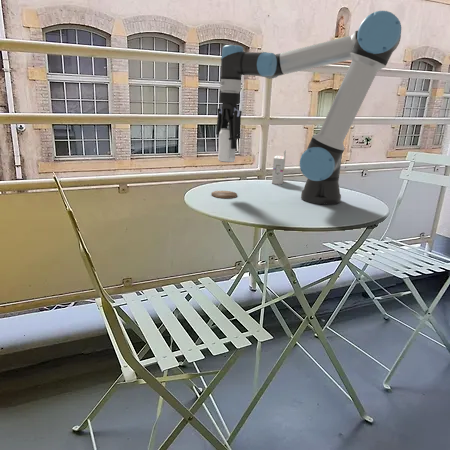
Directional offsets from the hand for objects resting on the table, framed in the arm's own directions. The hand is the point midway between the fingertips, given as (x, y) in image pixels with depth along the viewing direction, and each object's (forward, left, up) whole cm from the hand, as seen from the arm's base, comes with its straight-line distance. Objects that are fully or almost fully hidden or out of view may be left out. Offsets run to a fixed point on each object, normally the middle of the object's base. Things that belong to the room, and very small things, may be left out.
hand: (226, 155), depth 150 cm
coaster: (-1, +1, -15) cm, 15 cm away
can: (0, 0, -2) cm, 2 cm away
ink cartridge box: (+11, -35, -15) cm, 40 cm away
